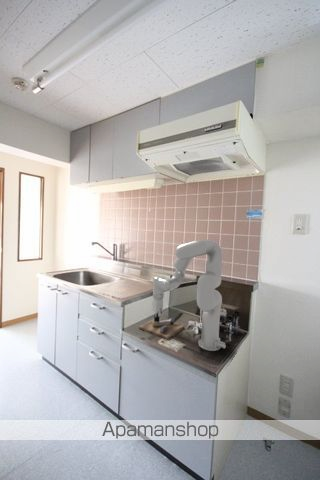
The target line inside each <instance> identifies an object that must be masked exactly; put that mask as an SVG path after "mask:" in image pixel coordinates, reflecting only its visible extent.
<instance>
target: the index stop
mask: <svg viewBox="0 0 320 480" xmlns="http://www.w3.org/2000/svg"><path fill="white" fill-rule="evenodd" d="M167 330H168V326H167V325H164V326H162V327H161V328H160V333H165V332H166V331H167Z"/></svg>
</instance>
